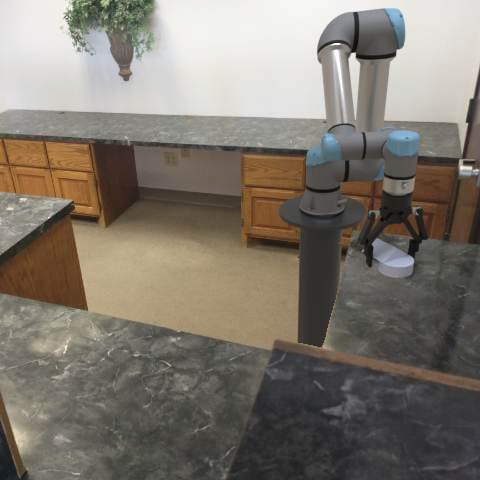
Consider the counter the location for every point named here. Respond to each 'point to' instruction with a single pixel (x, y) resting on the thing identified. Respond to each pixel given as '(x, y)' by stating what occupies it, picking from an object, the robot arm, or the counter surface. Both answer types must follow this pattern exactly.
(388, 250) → the wedge on round base
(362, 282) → the counter surface
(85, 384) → the counter surface
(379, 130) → the robot arm
